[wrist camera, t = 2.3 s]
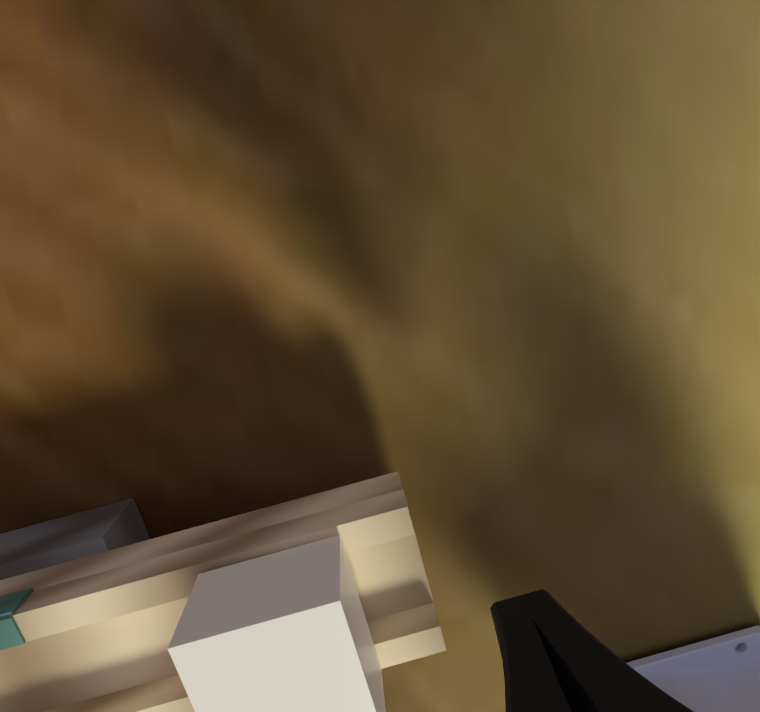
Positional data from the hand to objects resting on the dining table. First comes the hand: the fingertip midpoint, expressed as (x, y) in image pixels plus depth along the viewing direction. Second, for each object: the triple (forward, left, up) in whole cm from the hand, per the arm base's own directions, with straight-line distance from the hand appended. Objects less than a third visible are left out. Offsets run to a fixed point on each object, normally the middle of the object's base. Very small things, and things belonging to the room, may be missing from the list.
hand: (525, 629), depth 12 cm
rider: (+6, 0, -4) cm, 7 cm away
